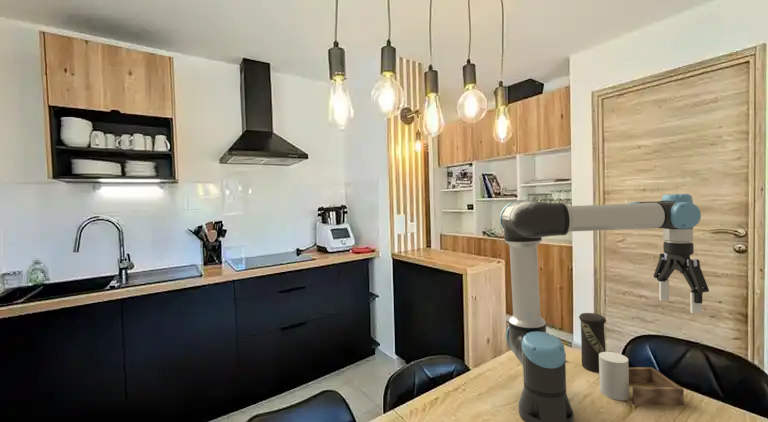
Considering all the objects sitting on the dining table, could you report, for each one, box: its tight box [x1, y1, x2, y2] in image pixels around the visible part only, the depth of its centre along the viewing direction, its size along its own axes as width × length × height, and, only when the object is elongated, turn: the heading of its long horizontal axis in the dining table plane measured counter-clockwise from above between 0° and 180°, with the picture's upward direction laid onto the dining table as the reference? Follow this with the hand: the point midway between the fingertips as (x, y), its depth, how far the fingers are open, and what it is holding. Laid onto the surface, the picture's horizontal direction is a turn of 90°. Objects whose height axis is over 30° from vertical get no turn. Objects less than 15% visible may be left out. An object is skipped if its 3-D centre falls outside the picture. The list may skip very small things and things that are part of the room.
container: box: [578, 312, 607, 373], centre depth 134 cm, size 9×9×20 cm
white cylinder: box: [598, 351, 630, 401], centre depth 116 cm, size 8×8×12 cm
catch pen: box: [629, 366, 685, 406], centre depth 115 cm, size 14×14×5 cm
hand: (679, 306), depth 115 cm, fingers open, 13 cm apart
